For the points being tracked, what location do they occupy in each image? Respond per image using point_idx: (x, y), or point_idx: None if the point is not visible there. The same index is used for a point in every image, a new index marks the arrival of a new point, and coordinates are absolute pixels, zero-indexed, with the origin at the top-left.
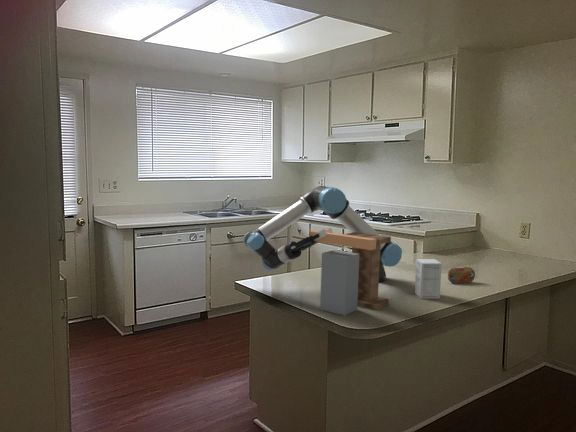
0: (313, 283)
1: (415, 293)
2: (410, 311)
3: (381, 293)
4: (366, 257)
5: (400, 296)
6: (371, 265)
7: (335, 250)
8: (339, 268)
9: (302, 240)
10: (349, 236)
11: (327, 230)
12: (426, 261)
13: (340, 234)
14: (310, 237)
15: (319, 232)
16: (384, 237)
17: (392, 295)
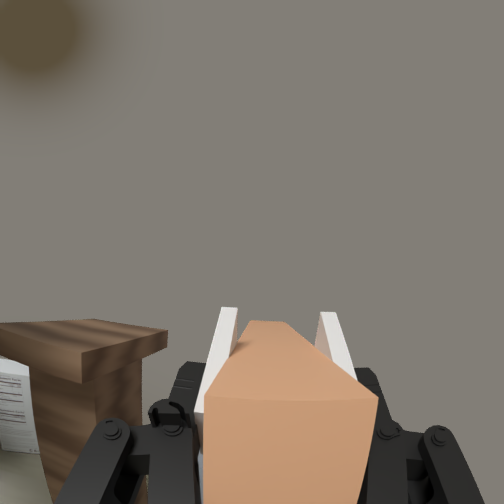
0: None
1: (8, 449)
2: (147, 478)
3: (5, 500)
4: (131, 419)
5: (29, 476)
6: None
7: (199, 460)
8: None
9: (471, 493)
10: (281, 329)
11: (234, 335)
12: (17, 368)
13: (262, 334)
14: (403, 431)
15: (344, 352)
16: (114, 323)
17: (22, 486)
